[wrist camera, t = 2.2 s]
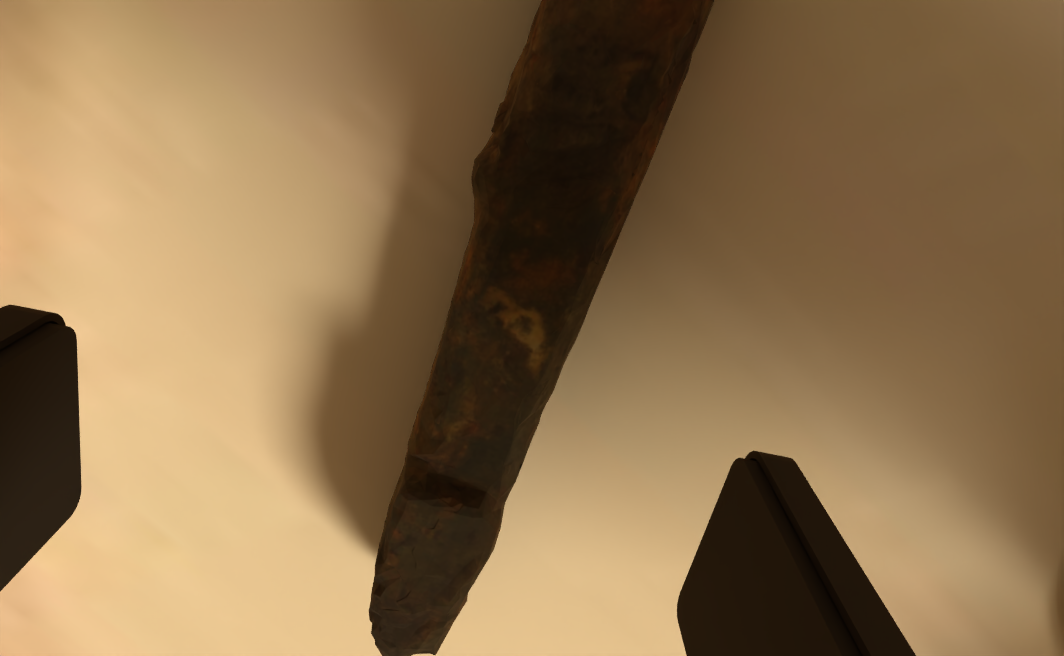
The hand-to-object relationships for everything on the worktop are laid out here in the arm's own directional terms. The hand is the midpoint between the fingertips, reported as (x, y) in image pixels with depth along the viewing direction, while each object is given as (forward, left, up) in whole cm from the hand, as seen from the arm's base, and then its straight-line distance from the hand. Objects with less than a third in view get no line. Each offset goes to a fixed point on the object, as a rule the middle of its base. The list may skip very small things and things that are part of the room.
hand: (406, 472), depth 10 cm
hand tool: (-2, 0, -9) cm, 9 cm away
